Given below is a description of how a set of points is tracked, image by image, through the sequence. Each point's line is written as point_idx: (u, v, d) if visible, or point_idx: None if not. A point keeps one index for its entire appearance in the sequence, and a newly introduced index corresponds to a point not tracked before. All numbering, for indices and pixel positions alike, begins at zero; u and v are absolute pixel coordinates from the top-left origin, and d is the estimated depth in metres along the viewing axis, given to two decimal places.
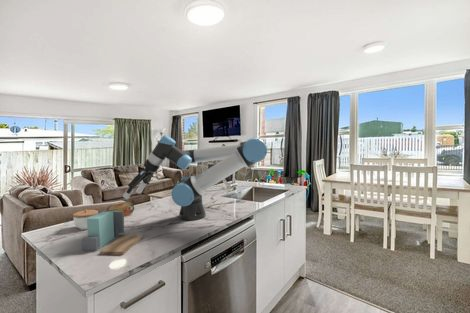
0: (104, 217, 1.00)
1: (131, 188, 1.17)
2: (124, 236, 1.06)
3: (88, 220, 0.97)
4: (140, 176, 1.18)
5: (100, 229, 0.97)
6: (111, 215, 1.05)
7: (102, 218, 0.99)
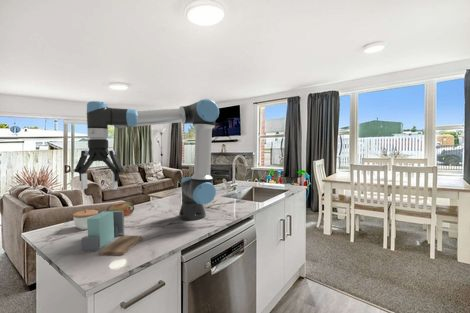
0: (104, 217, 1.00)
1: None
2: (124, 236, 1.06)
3: (88, 220, 0.97)
4: (115, 156, 1.01)
5: (100, 229, 0.97)
6: (111, 215, 1.05)
7: (102, 218, 0.99)
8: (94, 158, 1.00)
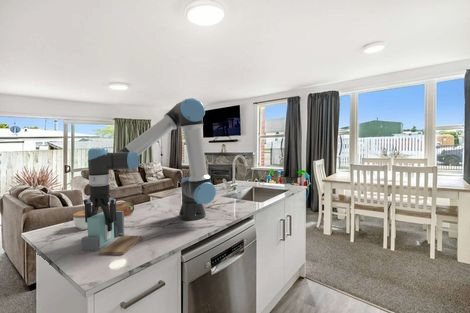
0: (104, 217, 1.00)
1: (112, 222, 1.02)
2: (124, 236, 1.06)
3: (88, 220, 0.97)
4: (114, 205, 1.02)
5: (100, 229, 0.97)
6: None
7: (102, 218, 0.99)
8: (96, 204, 1.01)
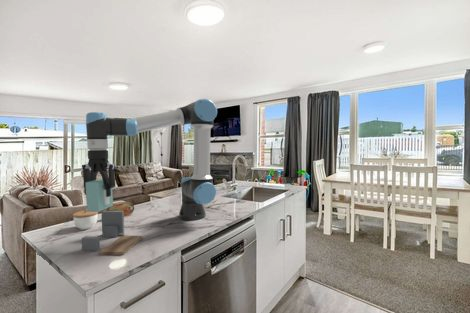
0: None
1: (110, 188, 1.02)
2: (124, 236, 1.06)
3: (86, 184, 0.96)
4: (113, 171, 1.01)
5: (98, 193, 0.97)
6: None
7: (101, 182, 0.98)
8: (94, 169, 1.00)
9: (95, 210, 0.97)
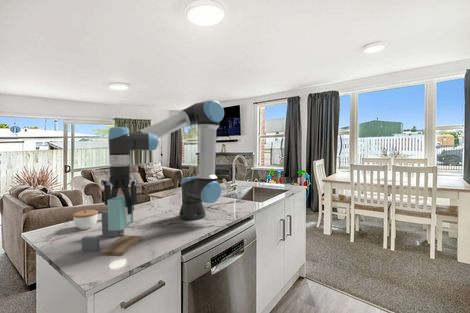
0: (124, 199, 0.96)
1: (132, 205, 0.98)
2: (124, 236, 1.06)
3: (108, 201, 0.93)
4: (135, 187, 0.98)
5: (120, 211, 0.93)
6: None
7: (122, 200, 0.95)
8: (116, 185, 0.96)
9: (117, 229, 0.93)
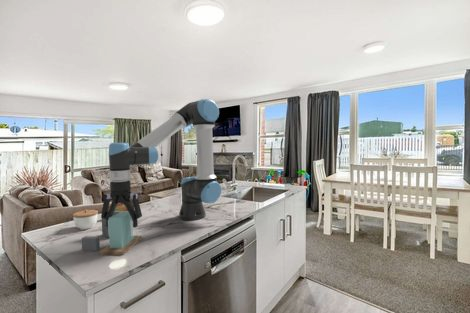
0: (125, 216, 0.97)
1: (137, 218, 0.98)
2: None
3: (110, 219, 0.93)
4: (137, 200, 0.98)
5: (122, 229, 0.94)
6: None
7: (124, 217, 0.95)
8: (116, 200, 0.97)
9: (118, 246, 0.94)
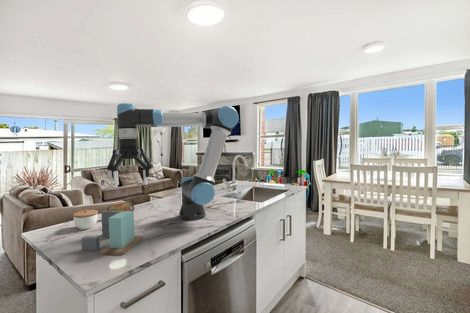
0: (125, 216, 0.97)
1: None
2: None
3: (110, 219, 0.93)
4: (145, 154, 1.09)
5: (122, 229, 0.94)
6: (132, 214, 1.02)
7: (124, 217, 0.95)
8: (125, 156, 1.08)
9: (118, 246, 0.94)
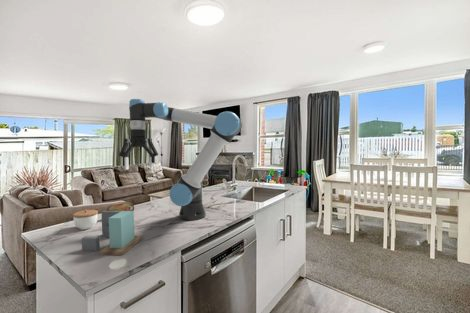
0: (125, 216, 0.97)
1: (154, 156, 1.26)
2: None
3: (110, 219, 0.93)
4: (152, 143, 1.26)
5: (122, 229, 0.94)
6: (132, 214, 1.02)
7: (124, 217, 0.95)
8: (135, 144, 1.25)
9: (118, 246, 0.94)
